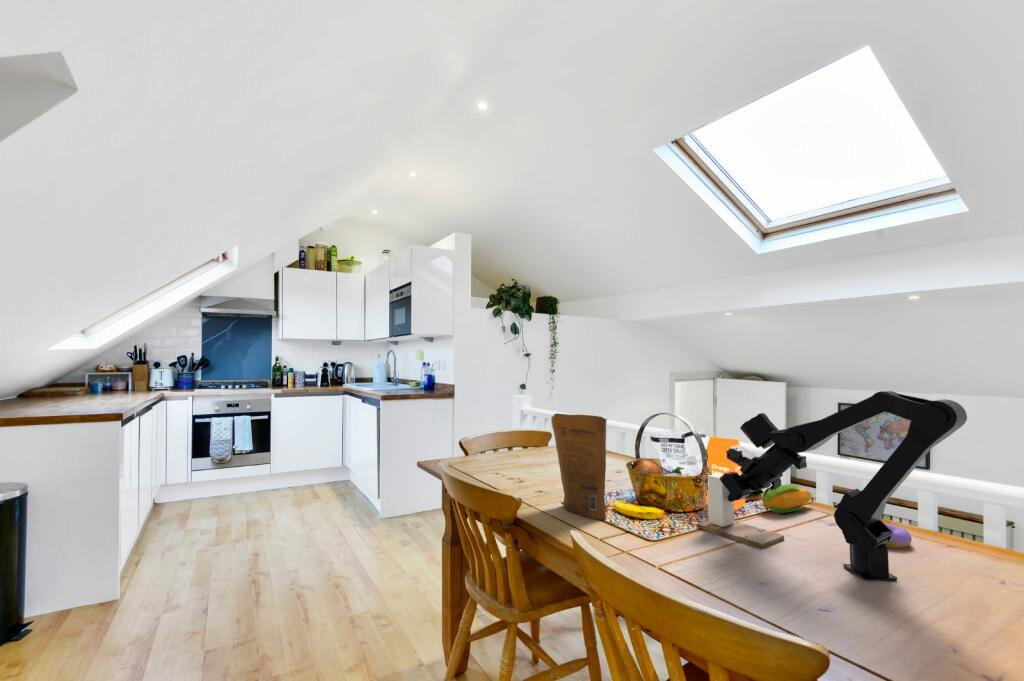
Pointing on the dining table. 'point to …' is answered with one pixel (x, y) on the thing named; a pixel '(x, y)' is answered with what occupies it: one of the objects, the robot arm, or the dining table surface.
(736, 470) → the orange juice
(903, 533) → the donut
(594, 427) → the pancake mix bag
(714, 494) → the white tall block
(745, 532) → the brown flat wooden board
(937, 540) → the dining table surface
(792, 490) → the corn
